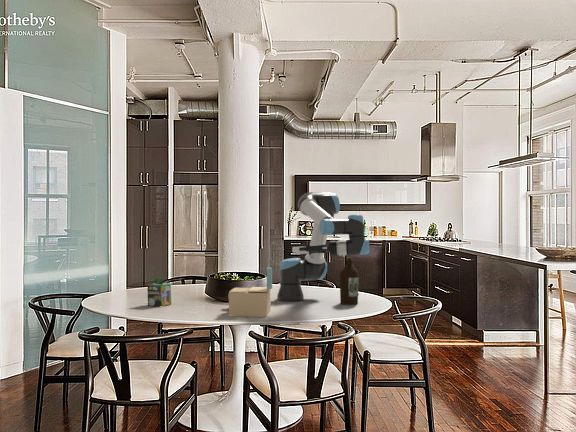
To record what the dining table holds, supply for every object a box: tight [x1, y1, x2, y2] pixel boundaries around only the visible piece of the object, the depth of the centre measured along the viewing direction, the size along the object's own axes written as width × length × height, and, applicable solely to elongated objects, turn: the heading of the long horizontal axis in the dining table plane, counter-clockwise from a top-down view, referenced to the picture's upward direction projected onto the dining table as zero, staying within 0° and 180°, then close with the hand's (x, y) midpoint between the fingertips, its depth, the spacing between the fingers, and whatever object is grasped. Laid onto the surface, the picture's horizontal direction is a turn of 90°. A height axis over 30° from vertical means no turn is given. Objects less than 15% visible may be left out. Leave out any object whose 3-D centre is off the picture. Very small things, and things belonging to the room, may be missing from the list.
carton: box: [227, 287, 271, 318], centre depth 275 cm, size 16×18×12 cm
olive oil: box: [339, 257, 360, 306], centre depth 306 cm, size 11×11×25 cm
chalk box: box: [146, 277, 172, 307], centre depth 300 cm, size 9×9×15 cm
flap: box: [248, 267, 273, 292], centre depth 274 cm, size 14×10×11 cm
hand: (294, 250), depth 276 cm, fingers open, 13 cm apart
